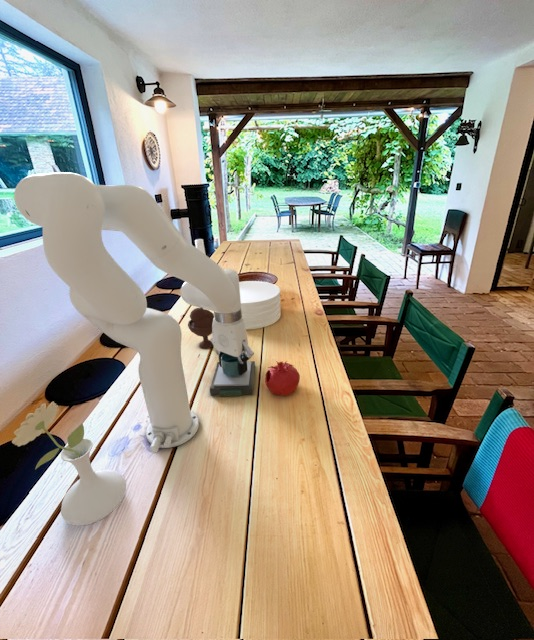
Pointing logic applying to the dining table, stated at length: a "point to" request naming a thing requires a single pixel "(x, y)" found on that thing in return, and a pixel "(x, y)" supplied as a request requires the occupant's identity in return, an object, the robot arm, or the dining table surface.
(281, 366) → the pomegranate
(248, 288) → the plate stack
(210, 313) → the ice cream bowl
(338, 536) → the dining table surface
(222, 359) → the teal cup
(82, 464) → the flower in vase
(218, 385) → the scale
